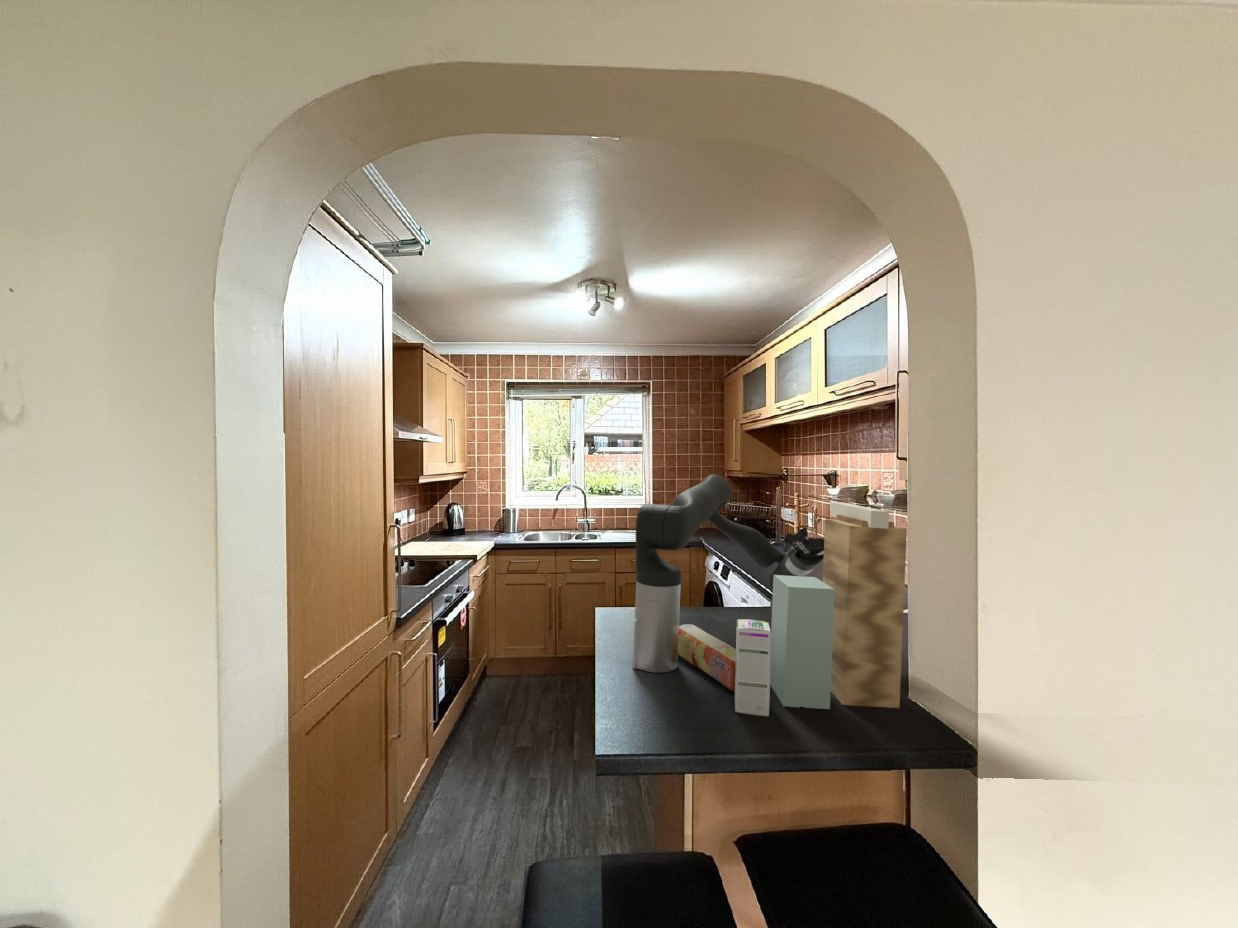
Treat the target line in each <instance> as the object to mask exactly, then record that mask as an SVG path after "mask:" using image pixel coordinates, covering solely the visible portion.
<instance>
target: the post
mask: <svg viewBox="0 0 1238 928" xmlns="http://www.w3.org/2000/svg"><path fill="white" fill-rule="evenodd" d="M834 596H835V589H834V588H832V587H830V586H829V585H827V584H825V583H824V582H823V580H821V579H819V578H818V577H816V576H805V577H804V576H784V575H773V591H772V599H771V600H772V601H771V602H772V603H771V628H770V631H771V651H770V688H772V690H773V692H774V693H775V695H776V696H777V698H778V700H779V701H780V703H781V704H782V706H783V707H785V706H786V707H785V708H800V707H804V708H803V709H805V708H806V709H819V710H820V709H821V710H822V709H823V710H830V709H831V696H832V695H831V694H832V692H831V670H832V646H833V621H834ZM787 706H788V707H787Z"/></svg>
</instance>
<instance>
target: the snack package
mask: <svg viewBox="0 0 1238 928" xmlns="http://www.w3.org/2000/svg"><path fill="white" fill-rule="evenodd" d="M678 657H681V658H682V659H684V660H686V661H687V662H688V663H690V664H691V665H693V666H694V667H696V668H698V669H699V670H701V671H702V672H704V673H705V674H707V675H709V676H710V677H712V678H713V679H714V680H716V681H717V682H719V683H720V684H722V686H724V687H725V688H727V689H728V690H729V691H731V692H734V693H735V664H736V647H733V646H732V645H730V644H728V643H726V642H724V640H723V641H722V640H720V639H719V638H717V637H715V636H713V635H711V634H709V633H708V632H706V631H704V630H703V629H701V627H699V626H696V625H694V624H681V625H679V636H678Z"/></svg>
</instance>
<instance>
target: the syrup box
mask: <svg viewBox="0 0 1238 928" xmlns="http://www.w3.org/2000/svg"><path fill="white" fill-rule="evenodd" d="M736 619H737V618H736ZM735 635H736V638H735V649H736V664H735V692H734V711H735V712H736V713H740V714H746V715H752V716H759V717H760V716H761V717H769V715H770V698H771V697H770V696H771V693H770V691H771V685H770V651H771V628H770V622H768V621H764V620H758V619H748V618H747V619H739V618H738V619H737V620H736V634H735Z"/></svg>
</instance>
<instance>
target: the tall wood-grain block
mask: <svg viewBox="0 0 1238 928" xmlns="http://www.w3.org/2000/svg"><path fill="white" fill-rule="evenodd" d="M835 518H836V519H827V518H826V519H824V536H823V537H824V557H823V560H822V561H823V567H822V582H824V583H825V584H827V585H829V586H830V587H832V588H834V589H835V596H834V621H833V646H832V670H831V694H832V695H833V696H834V695H835V696H834V698H836V699H837V700H838V702H839V703H840V704H841V705H843V706H853V707H854V706H857V707H872V708H873V707H876V708H892V709H900V707H901V705H900V703H901V679H902V659H903V658H902V655H903V654H902V653H903V634H904V633H903V631H904V626H903V625H904V607H905V606H904V604H905V577H906V555H907V528H906V527H901V526H898V525H897V526H896V525H895V522H894V521H890V520H889V528H888V529H885V528H870V527H867V521H864V520H860V519H856V518H852V517H847V516H843V515H836V517H835Z"/></svg>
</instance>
